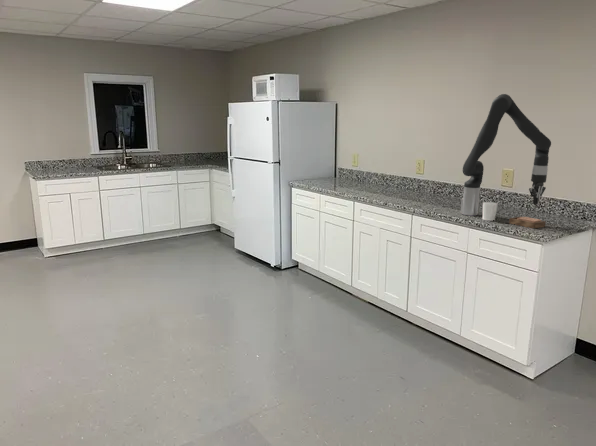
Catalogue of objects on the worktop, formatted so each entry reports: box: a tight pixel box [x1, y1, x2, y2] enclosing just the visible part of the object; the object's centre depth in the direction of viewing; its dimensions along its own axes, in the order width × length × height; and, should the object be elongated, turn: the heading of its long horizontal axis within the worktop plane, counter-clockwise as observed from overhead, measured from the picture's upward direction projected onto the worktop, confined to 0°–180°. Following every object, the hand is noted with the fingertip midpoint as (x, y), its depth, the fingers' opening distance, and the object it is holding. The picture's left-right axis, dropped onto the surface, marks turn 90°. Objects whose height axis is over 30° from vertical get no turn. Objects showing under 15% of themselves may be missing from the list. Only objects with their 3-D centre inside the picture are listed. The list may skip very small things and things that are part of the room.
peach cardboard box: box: [517, 216, 542, 223], centre depth 260 cm, size 10×7×4 cm
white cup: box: [482, 201, 498, 222], centre depth 272 cm, size 8×8×10 cm
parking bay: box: [508, 216, 546, 229], centre depth 260 cm, size 15×10×3 cm
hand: (535, 203), depth 261 cm, fingers closed
